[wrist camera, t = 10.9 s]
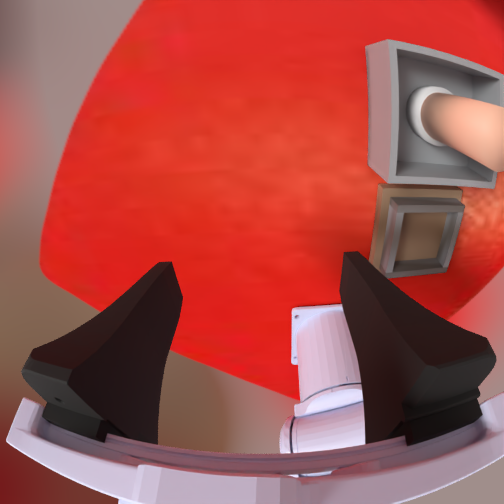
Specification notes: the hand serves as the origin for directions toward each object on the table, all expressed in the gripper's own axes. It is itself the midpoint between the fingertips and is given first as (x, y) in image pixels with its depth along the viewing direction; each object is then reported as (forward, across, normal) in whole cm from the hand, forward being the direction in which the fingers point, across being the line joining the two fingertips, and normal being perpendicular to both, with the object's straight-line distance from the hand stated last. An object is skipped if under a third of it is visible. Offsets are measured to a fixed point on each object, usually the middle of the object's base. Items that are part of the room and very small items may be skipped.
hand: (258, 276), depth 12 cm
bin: (+10, -13, -6) cm, 18 cm away
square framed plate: (+10, -13, +4) cm, 17 cm away
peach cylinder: (+10, -13, -6) cm, 17 cm away
